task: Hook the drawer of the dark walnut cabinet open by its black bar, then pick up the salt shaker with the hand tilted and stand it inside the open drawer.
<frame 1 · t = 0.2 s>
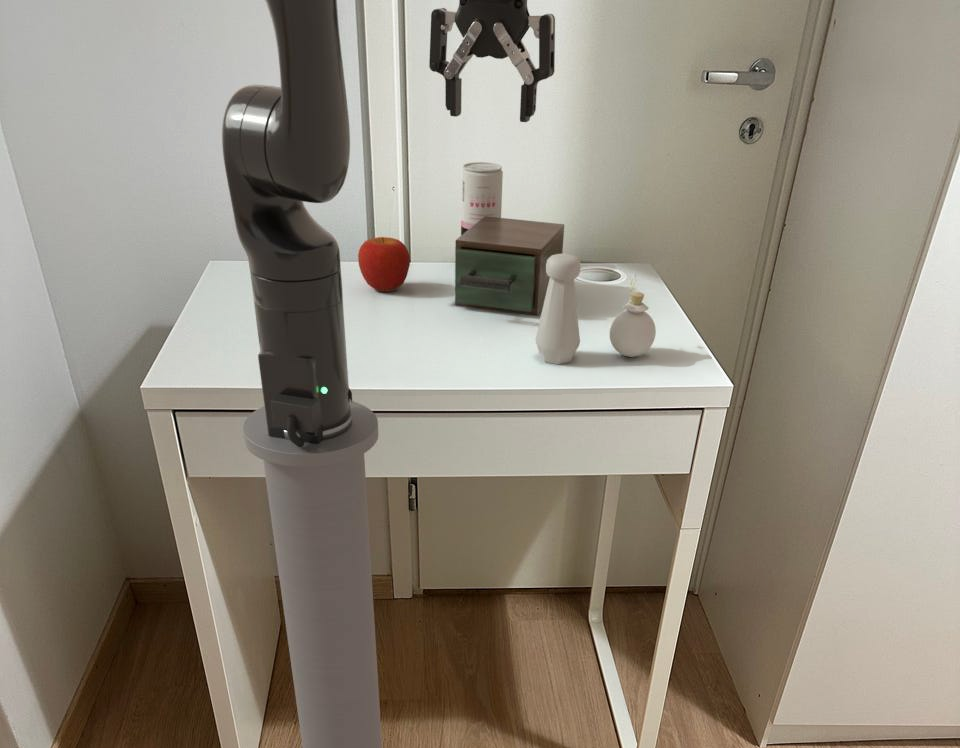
hand: (490, 118, 107), 27 cm above the table, tool pointing down, fingers open, 8 cm apart
drawer: (501, 273, 135), point 5 cm above the table, slide at 0.5 cm
salt shaker: (556, 359, 121), on the table
cabinet: (509, 295, 141), on the table
ornament: (628, 354, 123), on the table
apple: (385, 290, 142), on the table
beverage can: (480, 265, 154), on the table
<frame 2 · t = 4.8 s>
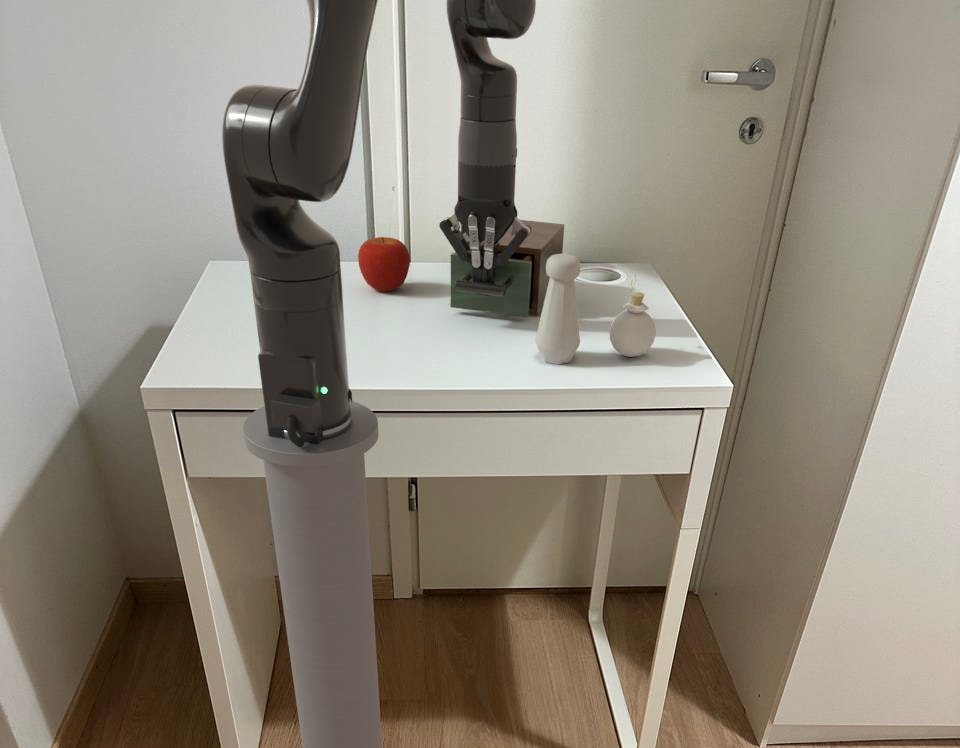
hand: (483, 293, 128), 4 cm above the table, tool pointing down, fingers closed
drawer: (497, 277, 133), point 5 cm above the table, slide at 2.8 cm, touching gripper
everything else where it was.
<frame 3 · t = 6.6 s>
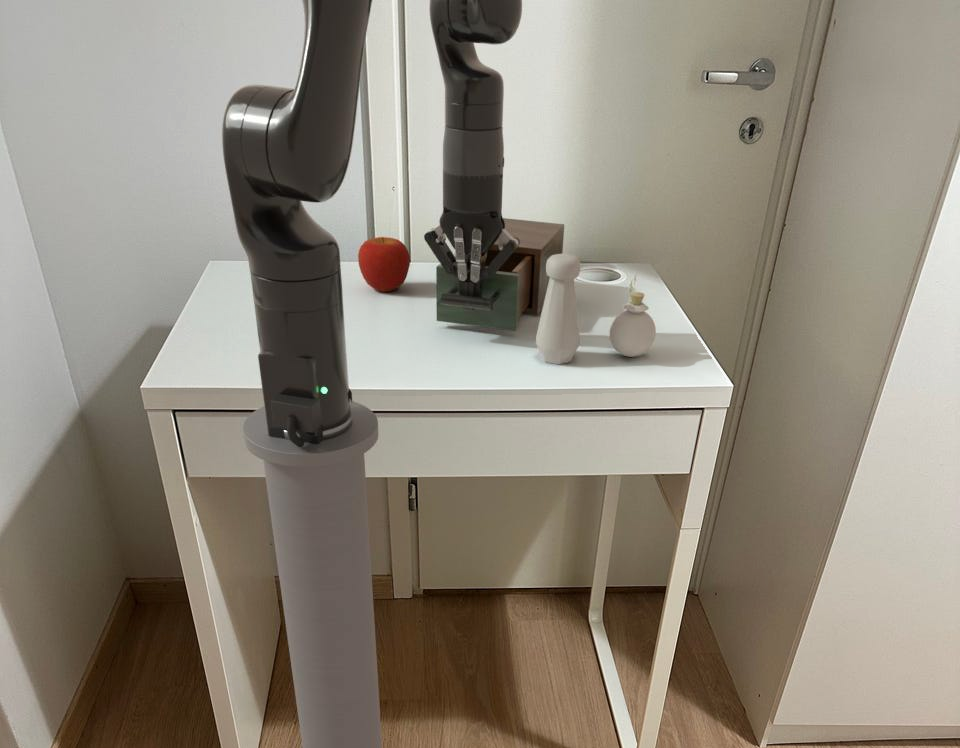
hand: (470, 307, 124), 4 cm above the table, tool pointing down, fingers closed
drawer: (485, 289, 128), point 5 cm above the table, slide at 9.0 cm, touching gripper
everything else where it was.
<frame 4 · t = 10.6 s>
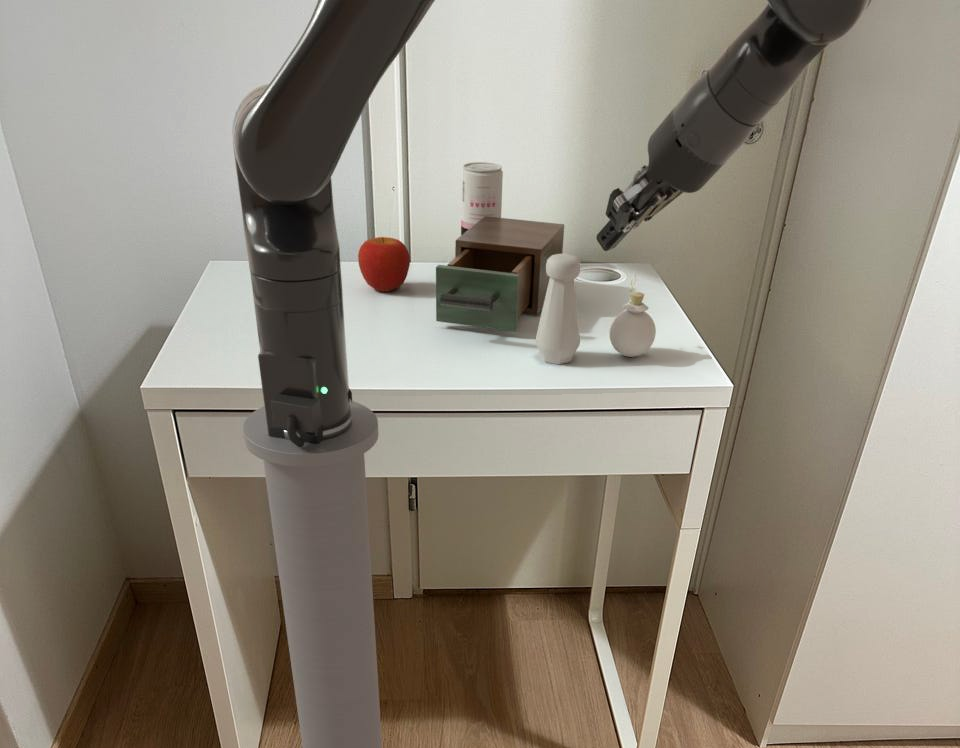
hand: (603, 243, 106), 16 cm above the table, tool tilted 40°, fingers closed
drawer: (484, 290, 128), point 5 cm above the table, slide at 9.2 cm
everything else where it was.
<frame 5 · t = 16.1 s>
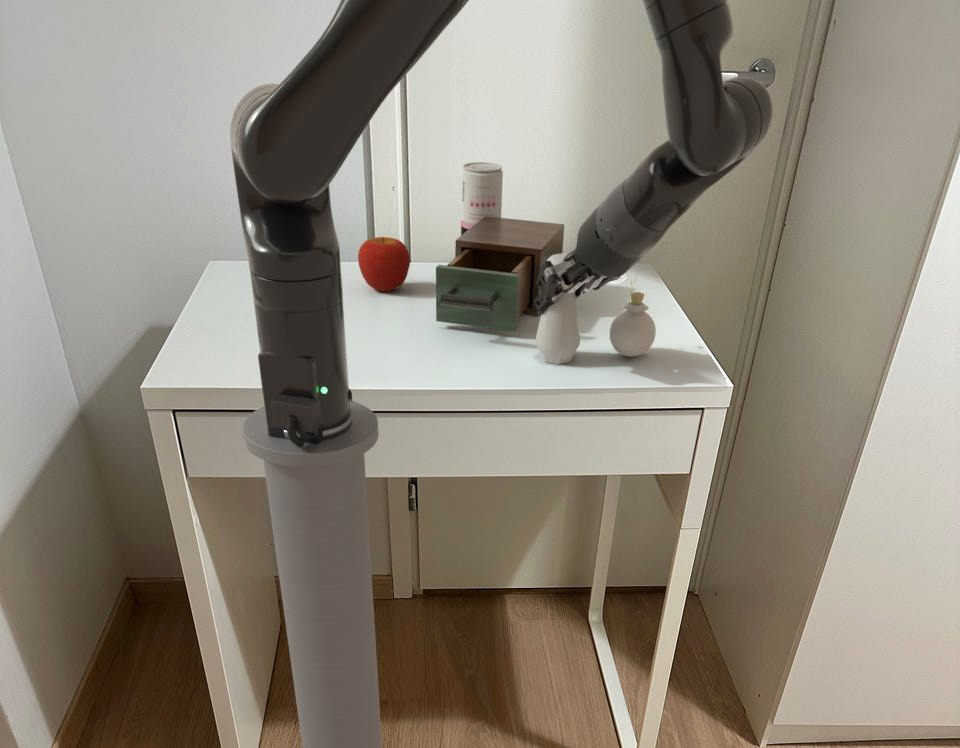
hand: (549, 305, 118), 6 cm above the table, tool tilted 45°, fingers closed on salt shaker, 3 cm apart
salt shaker: (556, 359, 121), on the table, touching gripper
everything else where it was.
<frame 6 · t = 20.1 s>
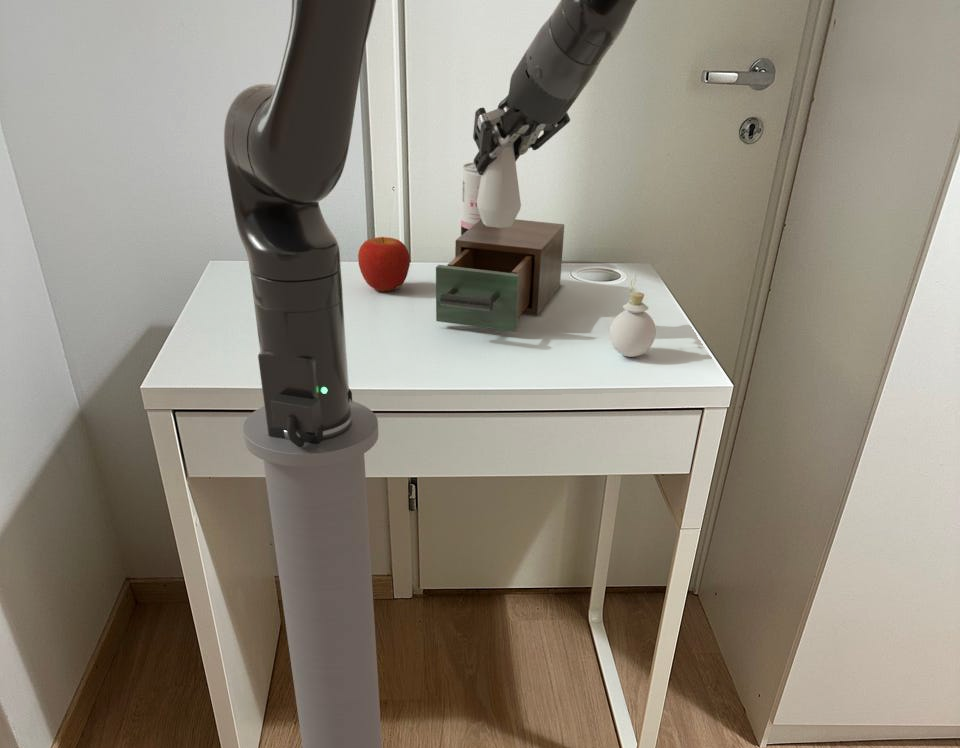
hand: (490, 167, 118), 20 cm above the table, tool tilted 45°, fingers closed on salt shaker, 3 cm apart
salt shaker: (498, 225, 121), point 14 cm above the table, touching gripper
everything else where it was.
when the fingers open (9 cm above the table, at t = 23.9 s): salt shaker stays where it is, resting on drawer.
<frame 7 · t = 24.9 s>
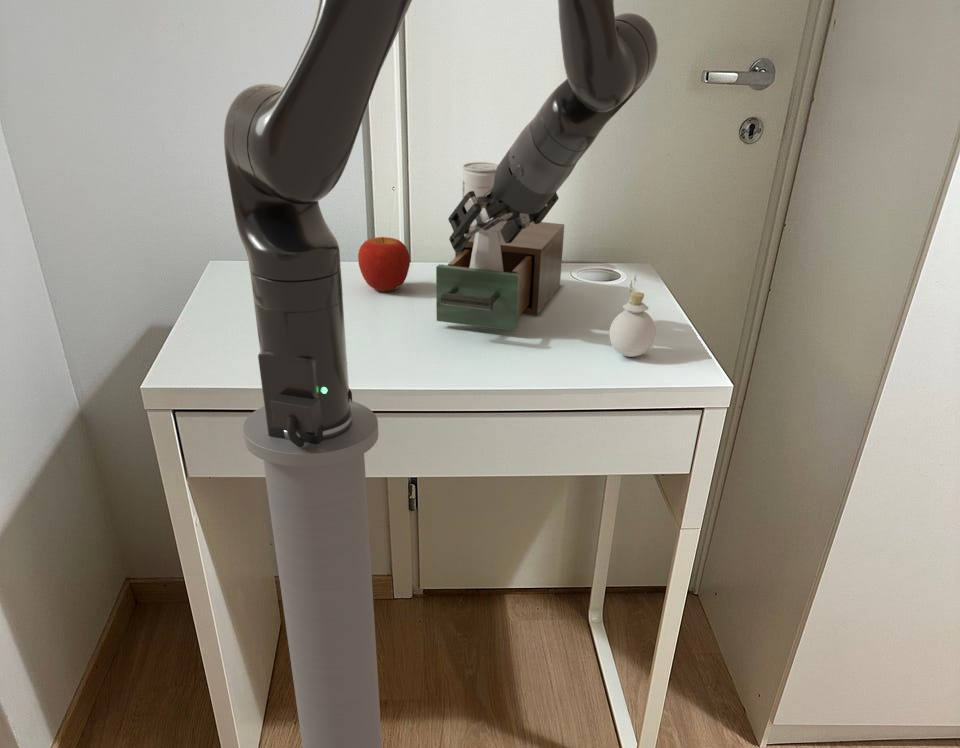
hand: (480, 241, 125), 11 cm above the table, tool tilted 45°, fingers open, 8 cm apart
drawer: (485, 289, 128), point 5 cm above the table, slide at 9.0 cm, touching salt shaker
salt shaker: (485, 309, 130), point 2 cm above the table, touching drawer
everything else where it was.
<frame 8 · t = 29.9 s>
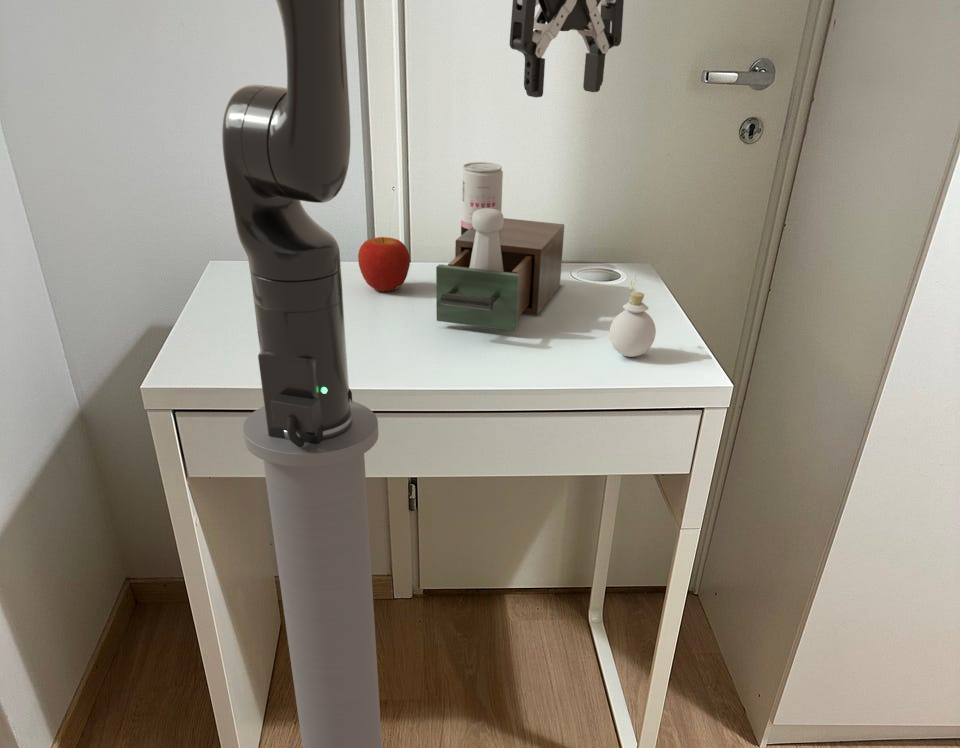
hand: (563, 93, 104), 30 cm above the table, tool pointing down, fingers open, 8 cm apart
nothing on the table moved.
at the end: drawer slide at 9.0 cm; salt shaker inside the target area in the drawer (0.4 cm from its centre), point 1.9 cm above the cabinet's base; salt shaker tilted 0° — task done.
